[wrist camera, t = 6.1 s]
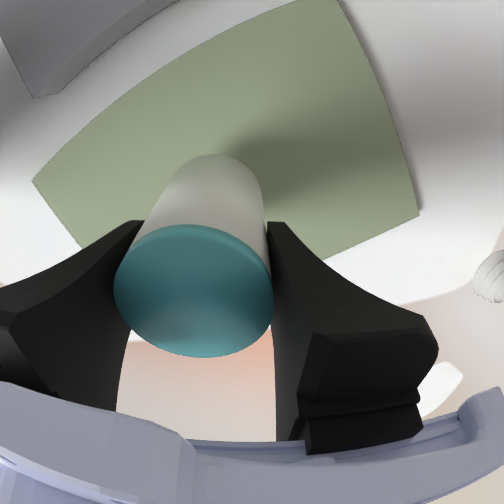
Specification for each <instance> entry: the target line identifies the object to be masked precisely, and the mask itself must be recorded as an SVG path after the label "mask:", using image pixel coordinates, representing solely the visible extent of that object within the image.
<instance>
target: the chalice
mask: <svg viewBox="0 0 504 504" xmlns="http://www.w3.org/2000/svg"><path fill="white" fill-rule="evenodd" d="M472 289H473V292H474V294H476V295H477V296H481V297H482V298H484V299H486V300H488V301H490V302H491V303H501V302H503V301H504V250H500V251H497V252H495V253H493V254H492V255H490V256H489V257H488V258H487V259H486V260H485V261H484V262H483V264H482V265H481V266H480V267H479V269H478V271H477V273H476V274H475V277H474V280H473V284H472Z"/></svg>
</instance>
